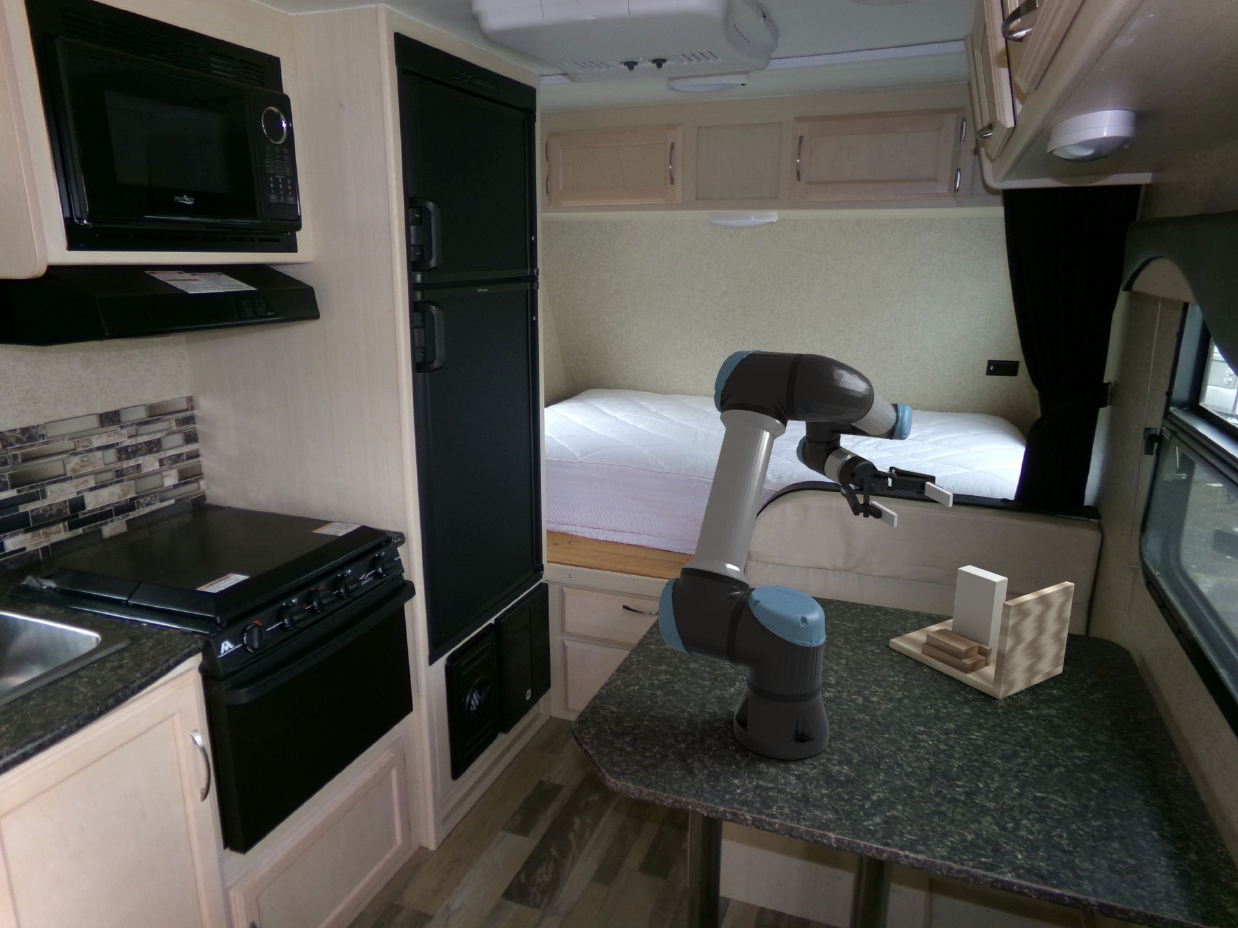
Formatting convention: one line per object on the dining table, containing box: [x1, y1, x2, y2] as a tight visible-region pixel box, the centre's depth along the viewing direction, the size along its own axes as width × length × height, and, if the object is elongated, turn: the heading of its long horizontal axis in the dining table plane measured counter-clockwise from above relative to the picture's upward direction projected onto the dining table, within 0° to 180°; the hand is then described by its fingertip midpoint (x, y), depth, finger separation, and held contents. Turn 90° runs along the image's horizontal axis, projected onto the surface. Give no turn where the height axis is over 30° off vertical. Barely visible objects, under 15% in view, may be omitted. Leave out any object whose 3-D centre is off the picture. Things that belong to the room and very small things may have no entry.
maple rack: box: [888, 581, 1076, 700], centre depth 156 cm, size 19×24×18 cm
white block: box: [951, 565, 1009, 661], centre depth 156 cm, size 4×8×16 cm, turn 32°
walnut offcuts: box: [922, 629, 986, 674], centre depth 154 cm, size 5×10×4 cm, turn 32°
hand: (923, 510), depth 158 cm, fingers open, 13 cm apart
